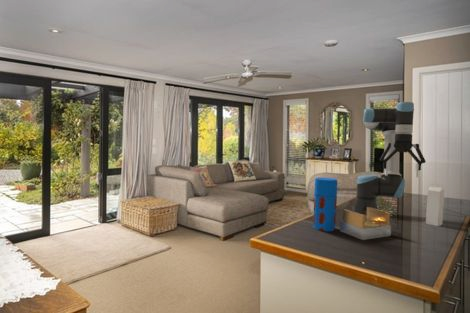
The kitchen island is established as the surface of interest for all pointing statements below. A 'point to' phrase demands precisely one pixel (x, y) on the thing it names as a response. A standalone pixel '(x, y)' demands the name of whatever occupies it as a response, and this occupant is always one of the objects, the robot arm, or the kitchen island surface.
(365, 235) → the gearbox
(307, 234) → the kitchen island surface
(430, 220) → the milk
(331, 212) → the thermos
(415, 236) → the kitchen island surface
